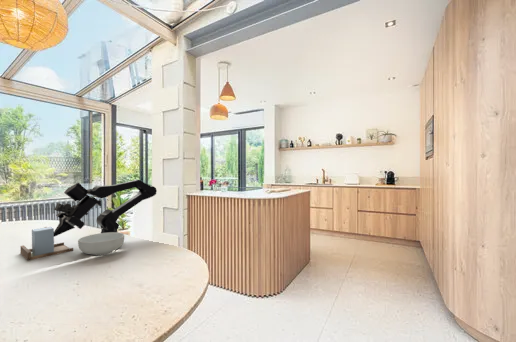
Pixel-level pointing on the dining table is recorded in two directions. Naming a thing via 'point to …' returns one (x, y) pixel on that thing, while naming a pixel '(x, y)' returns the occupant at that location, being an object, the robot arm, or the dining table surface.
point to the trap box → (57, 250)
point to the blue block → (42, 241)
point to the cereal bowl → (101, 243)
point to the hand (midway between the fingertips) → (52, 236)
